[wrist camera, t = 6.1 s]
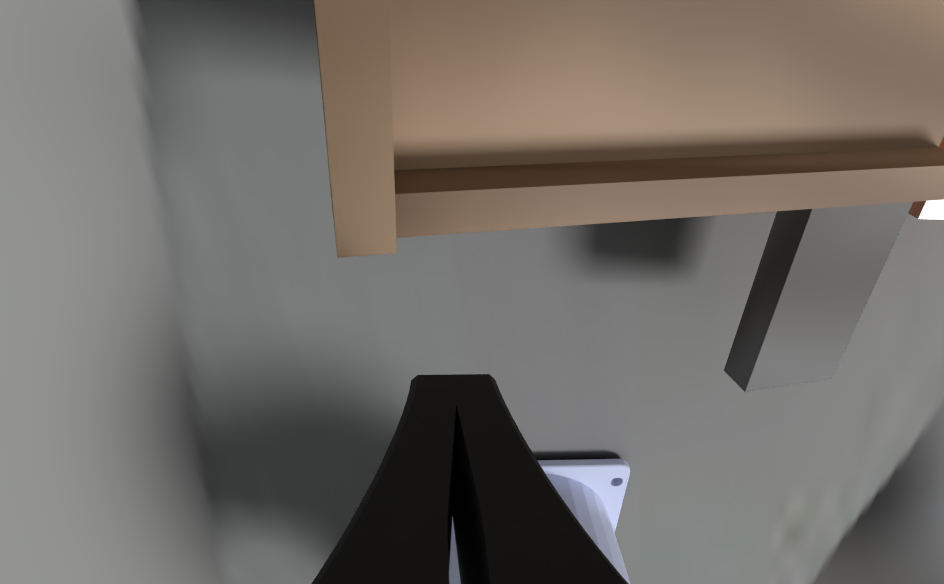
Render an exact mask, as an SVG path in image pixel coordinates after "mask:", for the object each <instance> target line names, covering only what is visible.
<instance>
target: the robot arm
mask: <svg viewBox="0 0 944 584" xmlns="http://www.w3.org/2000/svg"><path fill="white" fill-rule="evenodd" d="M629 475H630V468H629V465H628V463H627V462H626V461H625V460H623V459H584V460H537V459H536V458H535V456H534V454H533V453H532V451H531V450H530V448H529V446H528V445H527V443H526V441H525V440H524V438H523V436H522V434H521V433H520V431H519V429H518V427H517V425H516V423H515V421H514V420H513V418H512V416H511V414H510V412H509V410H508V408H507V406H506V404H505V402H504V400H503V398H502V395H501V393H500V391H499V388H498V386H497V383H496V381H495V379H494V378H493V377H492V376H491V375H489V374H476V375H417V376H416V377H415V378H414V379H412V380H411V385H410V390H409V394H408V398H407V401H406V405H405V408H404V411H403V414H402V416H401V419H400V421H399V424H398V427H397V429H396V432H395V434H394V437H393V439H392V441H391V443H390V445H389V448H388V450H387V452H386V454H385V456H384V459H383V461H382V463H381V465H380V467H379V469H378V471H377V473H376V475H375V477H374V479H373V481H372V483H371V485H370V487H369V489H368V490H367V492H366V494H365V496H364V498H363V500H362V502H361V503H360V505H359V507H358V509H357V511H356V513H355V515H354V516H353V518H352V520H351V522H350V523H349V525H348V527H347V528H346V530H345V532H344V533H343V535H342V537H341V539H340V540H339V542H338V543H337V545H336V547H335V548H334V550H333V552H332V553H331V555H330V556H329V558H328V559H327V561H326V562H325V564H324V565H323V567H322V569H321V570H320V572H319V573H318V575H317V576H316V578H315V579H314V581H313V582H312V584H630V581H629V578H628V575H627V571H626V568H625V565H624V562H623V559H622V555H621V552H620V549H619V546H618V543H617V540H616V536H615V529H616V525H617V521H618V517H619V514H620V510H621V506H622V502H623V498H624V494H625V490H626V486H627V483H628V479H629ZM614 478H615V479H614Z"/></svg>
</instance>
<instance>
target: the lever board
mask: <svg viewBox="0 0 944 584" xmlns="http://www.w3.org/2000/svg"><path fill="white" fill-rule="evenodd" d="M314 11H315V22H316V33H317V44H318V55H319V66H320V77H321V88H322V99H323V110H324V121H325V132H326V143H327V154H328V165H329V176H330V187H331V198H332V209H333V218H334V228H335V237H336V247H337V257H338V258H339V257H352V256H365V255H379V254H392V253H397V245H396V238H398V237H413V236H427V235H441V234H456V233H470V232H485V231H499V230H514V229H528V228H542V227H557V226H571V225H586V224H600V223H615V222H629V221H644V220H658V219H672V218H687V217H701V216H716V215H730V214H745V213H759V212H774V211H777V213H776V216H775V219H774V222H773V225H772V228H771V231H770V234H769V237H768V240H767V243H766V246H765V249H764V252H763V255H762V258H761V261H760V264H759V267H758V270H757V273H756V276H755V279H754V282H753V285H752V288H751V291H750V294H749V297H748V300H747V303H746V306H745V309H744V312H743V315H742V318H741V321H740V324H739V327H738V330H737V333H736V336H735V339H734V342H733V345H732V348H731V351H730V354H729V357H728V360H727V363H726V366H725V369H724V371H725V372H726V373H727V374H728V375H729V376H730V377H731V378H732V379H733V380H734V381H735V382H736V383H737V384H738V385H739V386H740V387H741V388H742V389H743V390H744V391H745V392H749V391H756V390H762V389H769V388H775V387H782V386H789V385H795V384H802V383H808V382H815V381H822V380H828V379H832V377H833V375H834V373H835V371H836V369H837V366H838V364H839V362H840V360H841V358H842V356H843V353H844V351H845V349H846V347H847V345H848V343H849V340H850V338H851V336H852V334H853V332H854V330H855V327H856V325H857V323H858V321H859V319H860V317H861V314H862V312H863V310H864V308H865V306H866V304H867V301H868V299H869V297H870V295H871V293H872V291H873V288H874V286H875V284H876V282H877V280H878V278H879V275H880V273H881V271H882V269H883V267H884V265H885V262H886V260H887V258H888V256H889V254H890V252H891V249H892V247H893V245H894V243H895V241H896V238H897V236H898V234H899V232H900V230H901V228H902V225H903V223H904V221H905V219H906V217H907V215H908V212H909V210H910V208H911V206H912V204H913V202H918V201H932V200H944V149H943V148H940V147H939V145H940V143H941V141H942V139H943V137H944V0H314Z"/></svg>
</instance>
